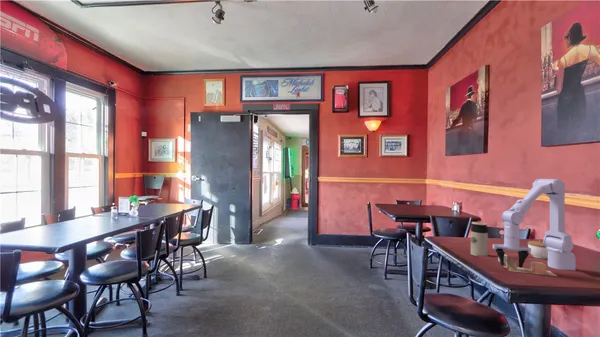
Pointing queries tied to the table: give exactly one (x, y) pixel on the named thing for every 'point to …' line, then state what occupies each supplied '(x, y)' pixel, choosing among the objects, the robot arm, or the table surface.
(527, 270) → the birch strip
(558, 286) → the table surface
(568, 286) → the table surface
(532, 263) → the terracotta cube
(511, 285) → the table surface
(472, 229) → the travel mug
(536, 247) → the lidded jar
